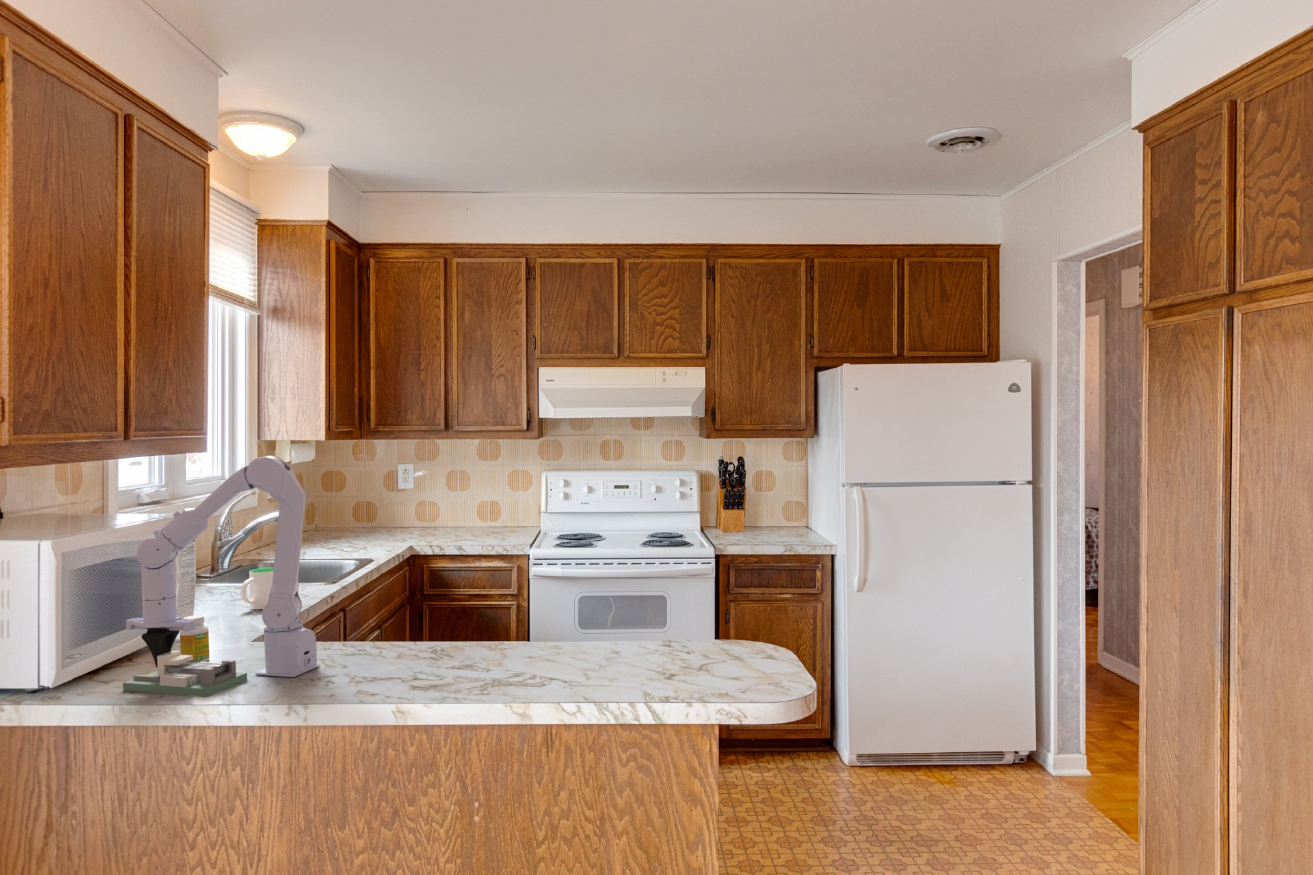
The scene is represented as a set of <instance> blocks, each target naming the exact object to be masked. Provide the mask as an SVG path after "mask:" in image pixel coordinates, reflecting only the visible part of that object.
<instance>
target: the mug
mask: <svg viewBox="0 0 1313 875" xmlns="http://www.w3.org/2000/svg"><path fill="white" fill-rule="evenodd" d="M273 570H274V566H273V567H261V568H255V569H251V570H249V571H248V573H249V574H248V575H249V576H248V577H249V578H248V579H246V580H244V581H243V583H242V585H241V590H240V594H241V600H242V601H243V602H245V603H246V604H249V605H250V606H249V607H250V609H251V608H252V609H251V610H253V609H264V607H265V606H266V604H267V603H268V600H269V593H270V589H271V585H272V580H273ZM248 586H249V598H250V599H248V596H247V587H248Z"/></svg>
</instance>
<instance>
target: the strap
mask: <svg viewBox="0 0 1313 875" xmlns="http://www.w3.org/2000/svg"><path fill="white" fill-rule="evenodd" d="M221 663H222V662H221ZM201 668H214V670H215V676H216V675H219V674H222V673H224V672H227V671H228V670H229V664H228V663H226V662H225V663H222V664H219V665H215V664H194V663H181V664H179V665H171V666H168V667H166V669H167V672H170V673H189V674H200V669H201Z"/></svg>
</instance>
